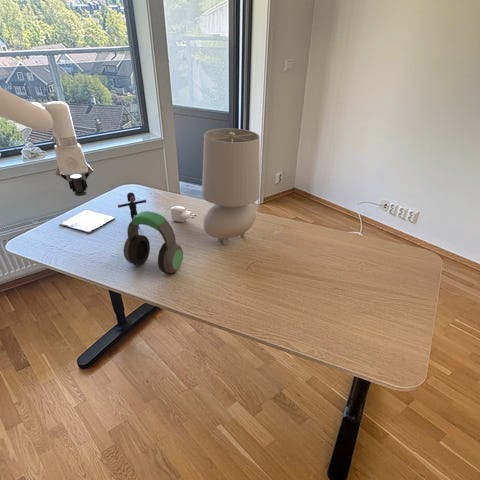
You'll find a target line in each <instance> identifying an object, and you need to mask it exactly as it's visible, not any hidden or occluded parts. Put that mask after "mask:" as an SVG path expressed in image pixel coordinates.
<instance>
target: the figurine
mask: <svg viewBox="0 0 480 480" xmlns="http://www.w3.org/2000/svg"><path fill="white" fill-rule="evenodd" d="M126 199H127V203H122V204H117V208H119V209H120V208H124V207H129V210H130V211H129V212H130V218H131V219H132V218H133V217H134V216H136V215H137V214H138V210H137V205H140V204H146V203H147V199H143V200H137V201H136V196H135V193H134V192H131V191H130V192H127V195H126ZM140 229H141V228H140V224H139V225H138V230H140Z"/></svg>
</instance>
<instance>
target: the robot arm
mask: <svg viewBox="0 0 480 480" xmlns="http://www.w3.org/2000/svg"><path fill="white" fill-rule="evenodd" d="M71 114H72V113H71V111H70V107H69V105H68V104H67V103H66V102H65V101H49V102H37V101H36V102H35V101H29V100H26V99H24V98H22V97H20V96H17V95H16V94H14V93H11V92H10V91H8V90H7V89H4V88H3V87H2V86H0V117H2V118H5V119H7V120H10V121H12V122H14V123H16V124H19V125H21V126H24V127H26V128H28V129H32V130H34V131H36V132H40V133H46V132H47V133H48V132H49V131H52V136H53V137H50V139H49V140H50V143H53V144H55V145H54V153H55V159H56V162H57V167H56V169H55V175H56V176H57V177H60V178H62V179H63V180H65V181H67V183H68V186H69V189H70V190H72V192H73V193H74V191H75V190H74V186H73V183H72V179H71V178H70V176H72V175H81V176H82V183H83V186H84V190H85V191H86V192H87V189H88V188H89V186H88V183H87V179H88V177H89V176H90V175H92V174H93V173H94V169H93V168H92V167H91V166H90V164H88V163H87V160H86V156H85V153H84V150H83V148H82V145H81V144H80V143H79V142H78V139H77V135H76V131H75V126H74V123H73V118H72V115H71Z"/></svg>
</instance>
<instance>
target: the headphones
mask: <svg viewBox="0 0 480 480" xmlns="http://www.w3.org/2000/svg"><path fill="white" fill-rule="evenodd" d="M138 225H139V226H140V225H143V226H147V227H150V228H153V229H154V230H155V231H157V232H159V234H160V235H161V237H162V239H163V241H164V242H163V244H162V245H161V246H160V248H159V251H158V255H157V266H158V268H159V270H160V272H162V273H166V274H167V273H168V274H175V273H176V272H178V271H179V270H180V268H181V266H182V264H183V260H184V251H183V248H182V246H181V245H180V244H179V243H177V241H176V240H177V239H176V235H175V231H174V230H173V227H172V225H171V224H170V222H169V221H168V220H167V219H166V217H165V216H163V215H162V214H159V213H157V212H155V211H146V210H145V211H141V212H139V213H137V215H136V216H135V215H134V217H133V218H131V221H130V222H129V224H128V226H127V238H126V239H125V242H124V245H123V257H124V258H125V260H126V262H128V263H130V264H132V265H133V266H136V267H140V266H143V265H145V263H146V262H147V260H148V258H149V255H150V252H151V251H150V250H151V243H150V240H149V238H148V237H147V236H146V235H144V234H139V229H138Z"/></svg>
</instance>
